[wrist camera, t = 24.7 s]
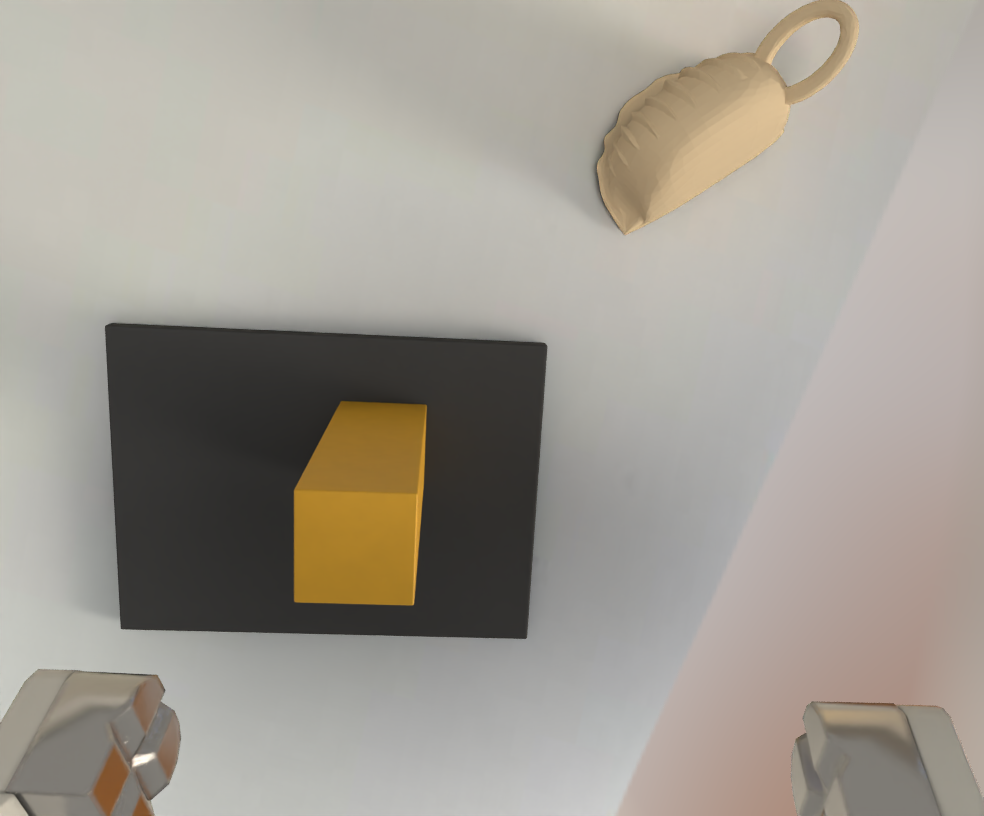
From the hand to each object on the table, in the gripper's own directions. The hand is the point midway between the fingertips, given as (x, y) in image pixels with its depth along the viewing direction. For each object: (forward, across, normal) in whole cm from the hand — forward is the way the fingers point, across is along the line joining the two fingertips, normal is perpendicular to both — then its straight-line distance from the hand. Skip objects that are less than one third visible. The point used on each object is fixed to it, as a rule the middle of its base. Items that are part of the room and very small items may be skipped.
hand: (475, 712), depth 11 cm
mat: (+18, +8, +13) cm, 23 cm away
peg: (+18, +6, +11) cm, 22 cm away
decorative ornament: (+25, -6, +1) cm, 25 cm away
